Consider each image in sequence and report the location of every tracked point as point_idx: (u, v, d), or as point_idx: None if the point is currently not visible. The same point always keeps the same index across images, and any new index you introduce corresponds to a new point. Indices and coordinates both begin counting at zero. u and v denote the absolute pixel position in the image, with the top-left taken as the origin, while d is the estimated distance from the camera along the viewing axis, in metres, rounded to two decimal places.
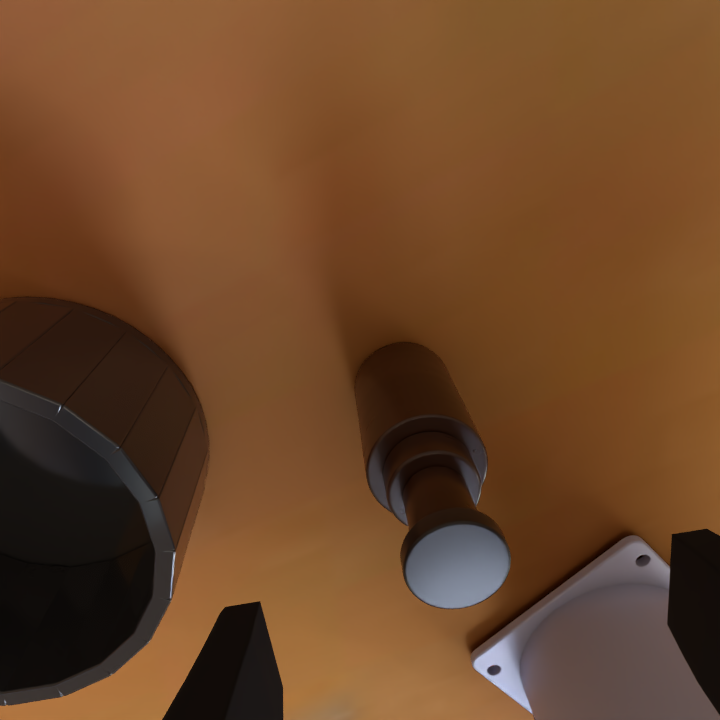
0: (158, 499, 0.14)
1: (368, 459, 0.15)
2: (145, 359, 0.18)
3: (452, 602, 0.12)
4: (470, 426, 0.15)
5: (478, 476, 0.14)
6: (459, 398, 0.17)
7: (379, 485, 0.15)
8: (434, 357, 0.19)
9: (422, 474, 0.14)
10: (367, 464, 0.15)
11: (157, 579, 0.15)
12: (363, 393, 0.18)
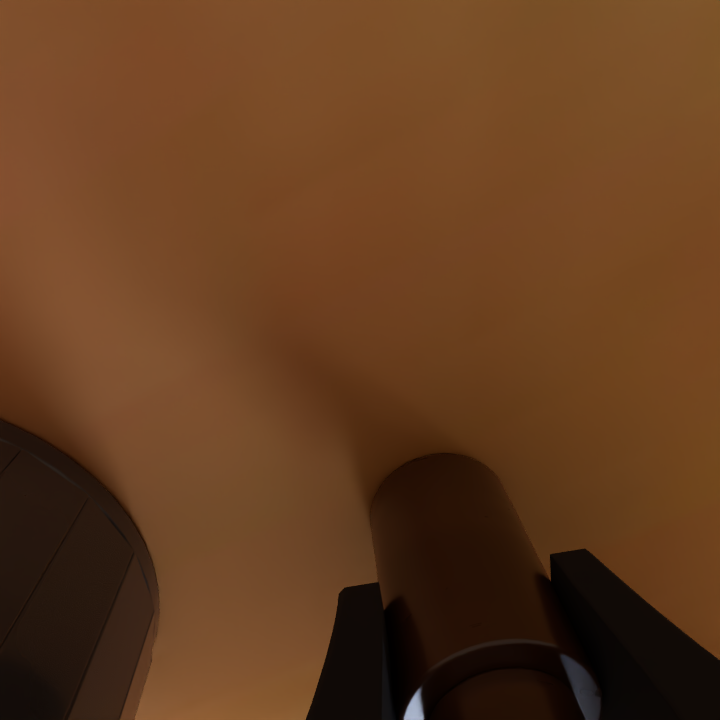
0: None
1: (402, 708, 0.09)
2: (48, 496, 0.11)
3: None
4: (577, 653, 0.09)
5: None
6: (541, 569, 0.11)
7: None
8: (490, 479, 0.13)
9: None
10: (400, 715, 0.09)
11: None
12: (386, 546, 0.12)
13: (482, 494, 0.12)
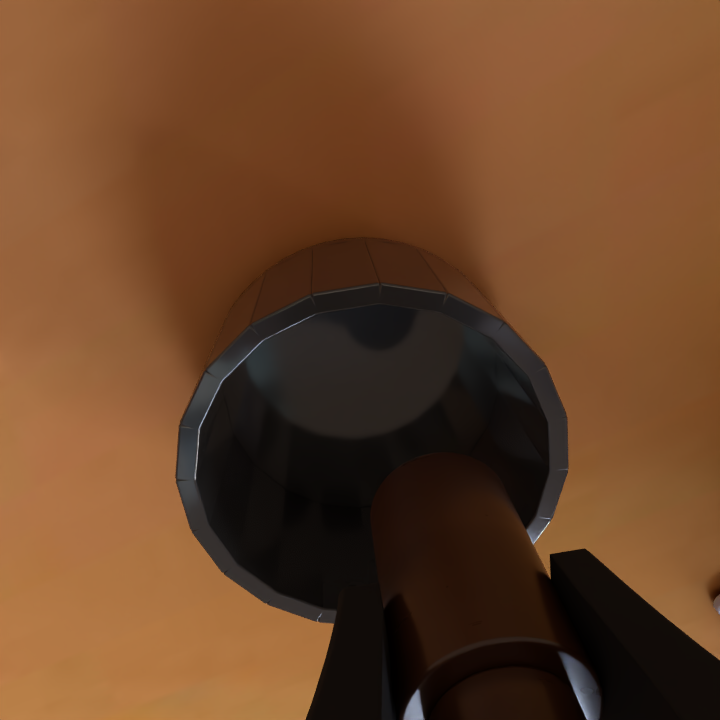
0: (566, 418, 0.15)
1: (402, 707, 0.09)
2: (484, 296, 0.18)
3: None
4: (578, 651, 0.09)
5: None
6: (542, 567, 0.10)
7: None
8: (490, 477, 0.13)
9: None
10: (400, 714, 0.09)
11: (545, 499, 0.16)
12: (386, 545, 0.12)
13: (482, 493, 0.12)
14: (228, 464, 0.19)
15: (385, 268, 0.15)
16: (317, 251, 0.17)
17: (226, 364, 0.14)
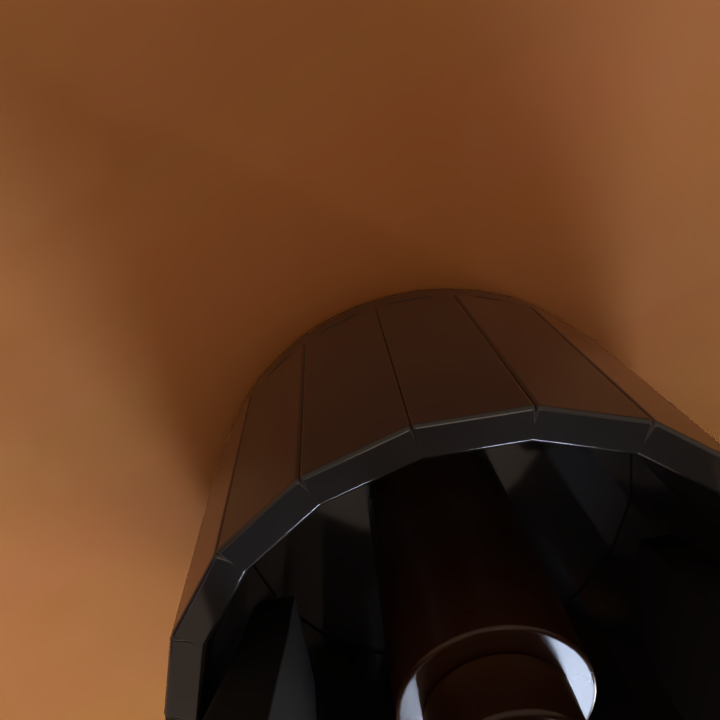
0: None
1: (399, 694, 0.09)
2: None
3: None
4: (571, 639, 0.09)
5: None
6: (537, 558, 0.11)
7: None
8: (487, 471, 0.13)
9: None
10: (397, 700, 0.09)
11: None
12: (384, 537, 0.12)
13: (478, 486, 0.12)
14: None
15: (522, 362, 0.09)
16: (386, 315, 0.11)
17: (254, 544, 0.08)
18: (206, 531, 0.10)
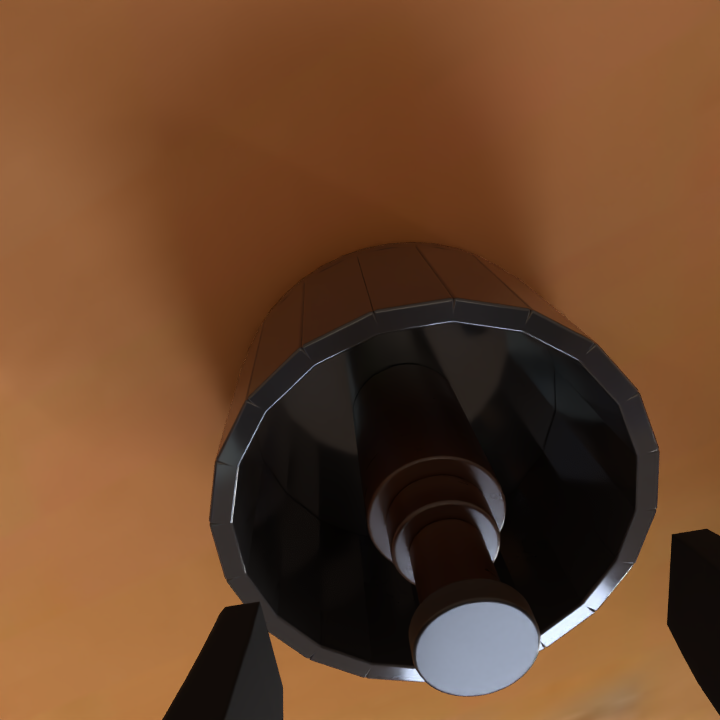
0: (658, 451, 0.13)
1: (369, 506, 0.13)
2: None
3: (470, 689, 0.10)
4: (486, 468, 0.13)
5: (497, 529, 0.12)
6: (471, 431, 0.15)
7: (382, 535, 0.13)
8: (442, 381, 0.17)
9: (432, 528, 0.12)
10: (368, 512, 0.13)
11: (628, 541, 0.14)
12: (363, 423, 0.16)
13: (433, 387, 0.16)
14: (261, 496, 0.17)
15: (452, 279, 0.13)
16: (364, 258, 0.15)
17: (272, 392, 0.12)
18: (236, 401, 0.14)
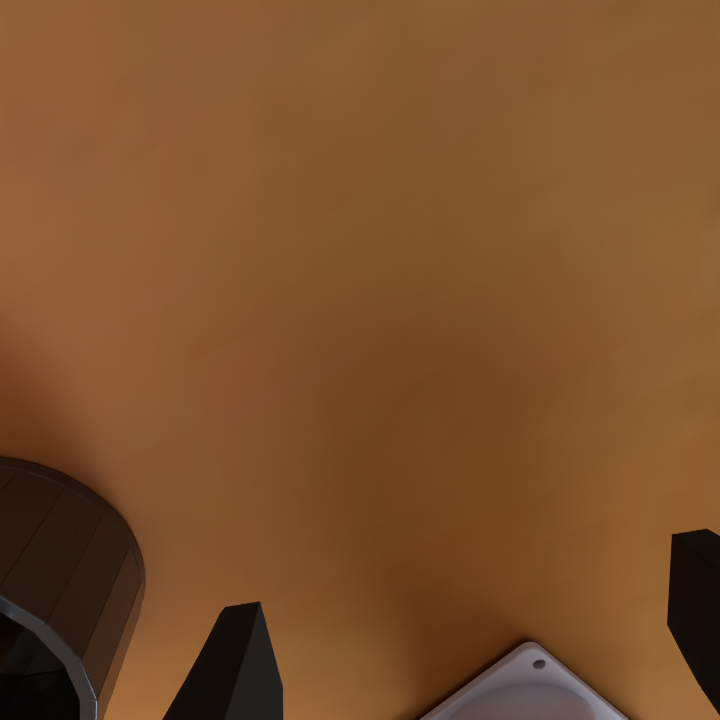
0: (80, 661, 0.17)
1: None
2: (81, 514, 0.20)
3: None
4: None
5: None
6: None
7: None
8: None
9: None
10: None
11: None
12: None
13: None
14: None
15: None
16: None
17: None
18: None
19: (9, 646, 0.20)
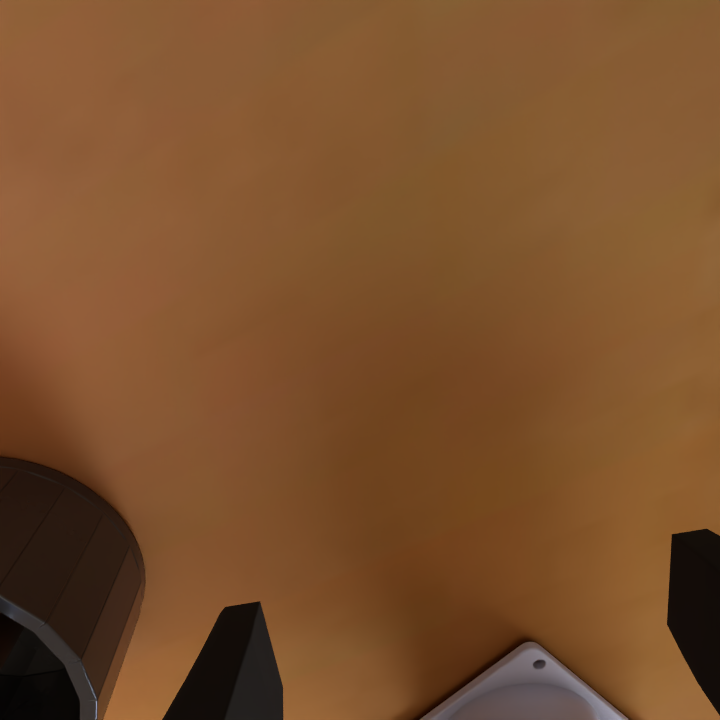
0: (80, 661, 0.17)
1: None
2: (81, 514, 0.20)
3: None
4: None
5: None
6: None
7: None
8: None
9: None
10: None
11: None
12: None
13: None
14: None
15: None
16: None
17: None
18: None
19: (9, 646, 0.20)
